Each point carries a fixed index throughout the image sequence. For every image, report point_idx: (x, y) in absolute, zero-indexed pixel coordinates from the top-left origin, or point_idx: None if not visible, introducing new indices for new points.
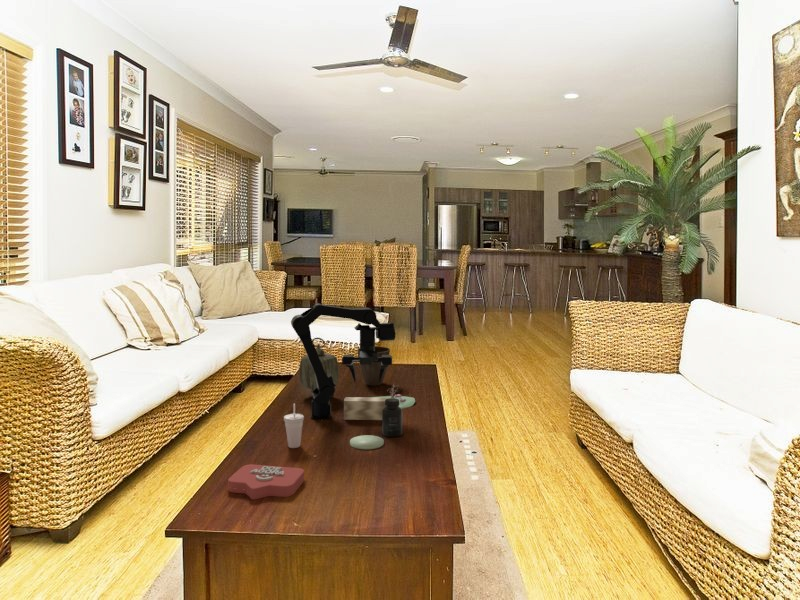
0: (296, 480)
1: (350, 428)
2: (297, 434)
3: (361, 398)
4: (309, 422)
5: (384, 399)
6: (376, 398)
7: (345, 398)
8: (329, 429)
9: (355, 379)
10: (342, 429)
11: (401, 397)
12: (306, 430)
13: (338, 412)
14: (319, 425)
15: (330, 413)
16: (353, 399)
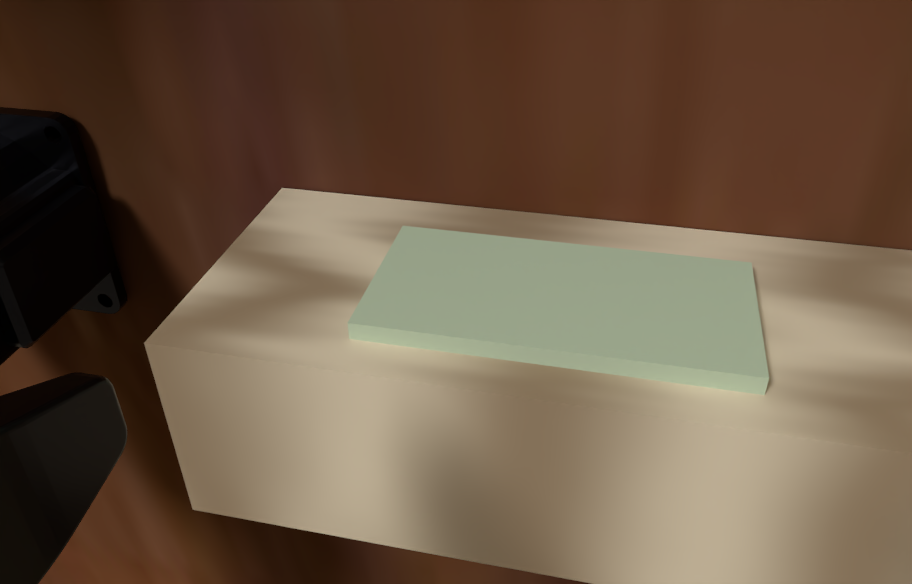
0: None
1: (419, 554)
2: None
3: (443, 442)
4: (3, 369)
5: (896, 554)
6: (738, 484)
7: (172, 408)
8: (245, 542)
9: (79, 521)
10: (352, 561)
11: None
12: (80, 530)
13: (151, 40)
14: (126, 451)
15: (101, 266)
16: (315, 469)
